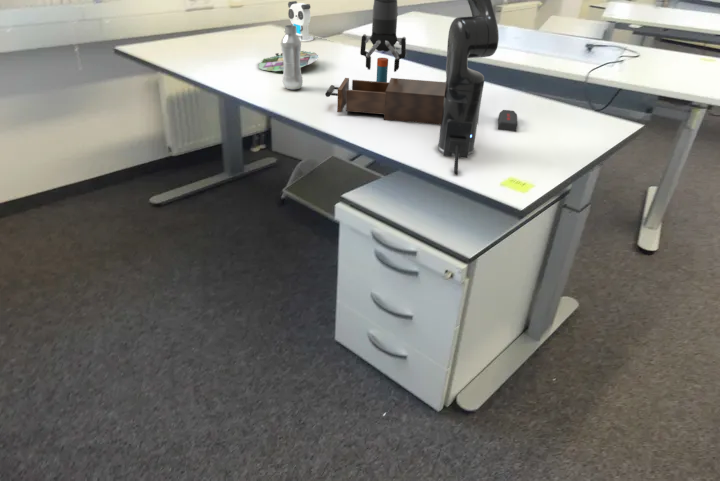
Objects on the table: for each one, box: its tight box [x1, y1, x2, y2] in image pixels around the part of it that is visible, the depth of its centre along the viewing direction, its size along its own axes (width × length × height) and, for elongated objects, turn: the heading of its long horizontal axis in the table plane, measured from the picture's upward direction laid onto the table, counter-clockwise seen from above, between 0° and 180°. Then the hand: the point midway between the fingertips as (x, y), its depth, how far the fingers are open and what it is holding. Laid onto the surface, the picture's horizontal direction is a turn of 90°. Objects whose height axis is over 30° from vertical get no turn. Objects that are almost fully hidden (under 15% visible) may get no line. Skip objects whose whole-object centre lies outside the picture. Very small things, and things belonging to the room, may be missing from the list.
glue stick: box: [375, 57, 389, 82], centre depth 176 cm, size 4×4×12 cm
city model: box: [258, 50, 319, 72], centre depth 205 cm, size 25×23×6 cm
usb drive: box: [497, 109, 518, 132], centre depth 161 cm, size 5×12×3 cm, turn 167°
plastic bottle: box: [280, 24, 304, 90], centre depth 178 cm, size 6×7×20 cm
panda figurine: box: [287, 0, 314, 43], centre depth 240 cm, size 12×11×15 cm
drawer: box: [325, 77, 389, 115], centre depth 165 cm, size 22×12×7 cm, turn 81°
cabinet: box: [383, 77, 446, 126], centre depth 163 cm, size 19×14×9 cm
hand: (382, 70), depth 175 cm, fingers open, 8 cm apart
